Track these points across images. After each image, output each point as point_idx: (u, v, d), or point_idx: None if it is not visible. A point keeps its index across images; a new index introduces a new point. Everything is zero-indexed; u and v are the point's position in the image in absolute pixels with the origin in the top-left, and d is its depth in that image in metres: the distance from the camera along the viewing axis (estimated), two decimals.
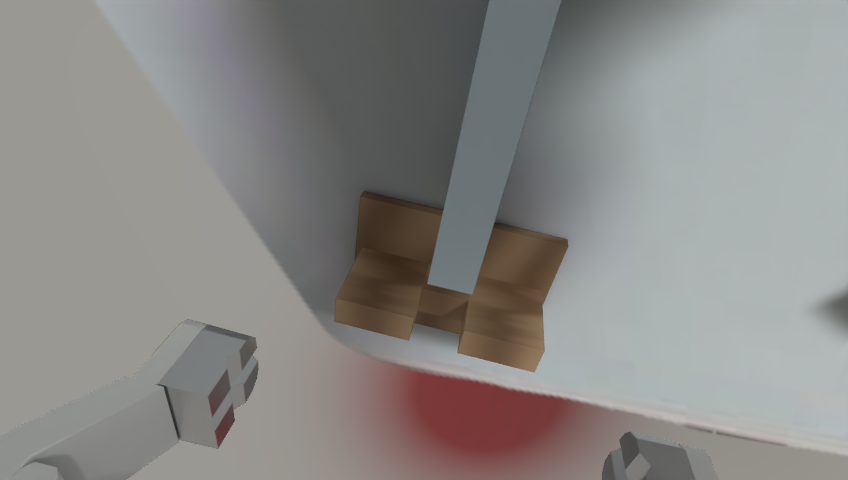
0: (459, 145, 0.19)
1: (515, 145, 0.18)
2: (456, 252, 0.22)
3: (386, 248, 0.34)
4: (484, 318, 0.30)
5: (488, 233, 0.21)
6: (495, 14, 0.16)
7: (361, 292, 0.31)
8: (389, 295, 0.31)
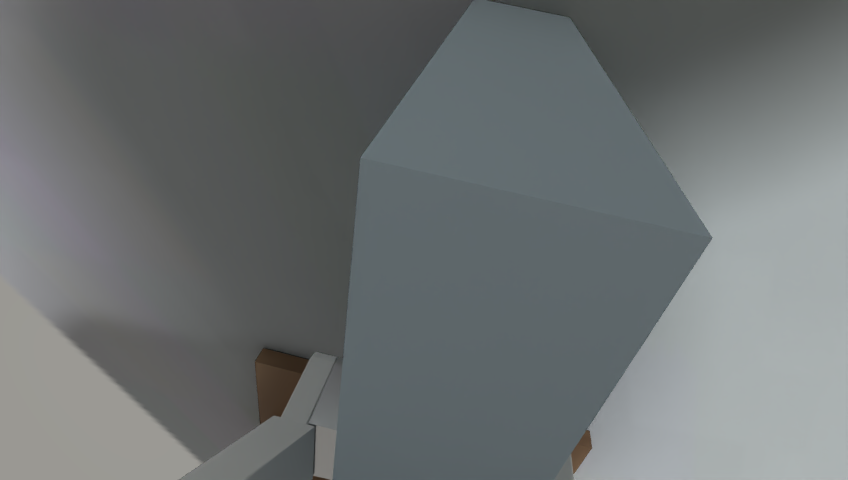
0: None
1: None
2: None
3: None
4: None
5: None
6: (386, 287, 0.04)
7: None
8: None
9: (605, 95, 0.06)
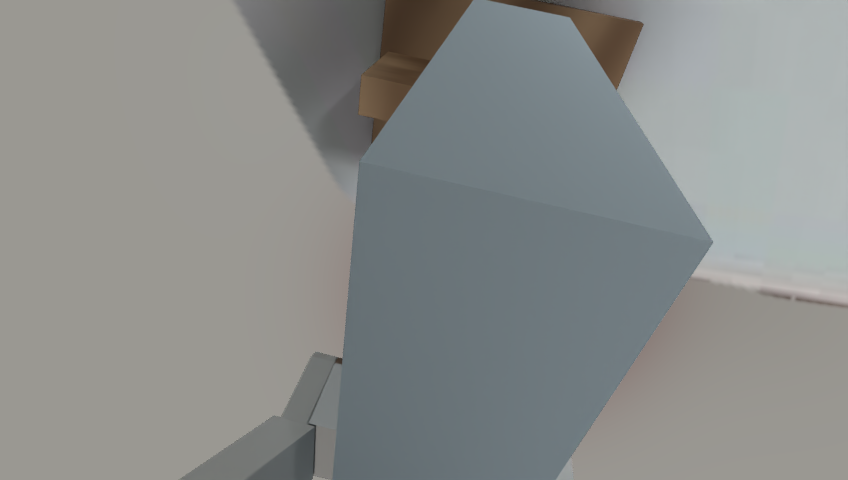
0: None
1: None
2: None
3: (417, 50, 0.29)
4: None
5: None
6: (386, 291, 0.04)
7: (392, 75, 0.25)
8: None
9: (605, 97, 0.05)
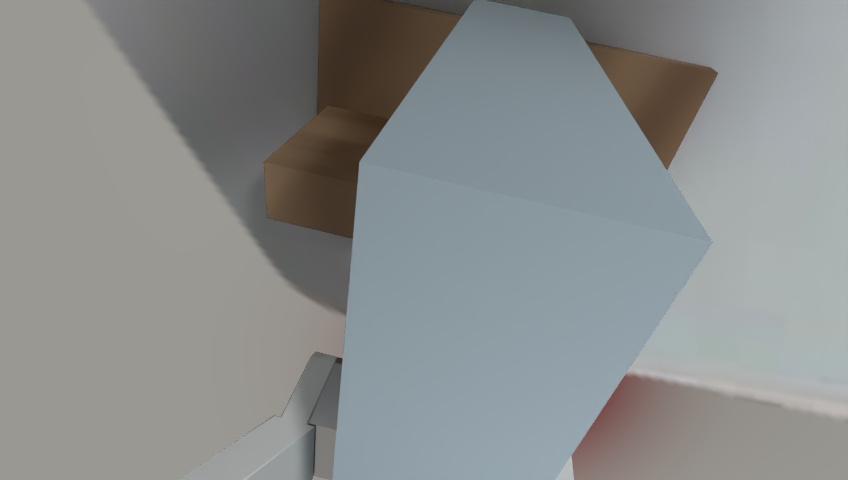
0: None
1: None
2: None
3: (370, 105, 0.19)
4: None
5: None
6: (386, 291, 0.04)
7: (318, 158, 0.15)
8: None
9: (605, 97, 0.06)
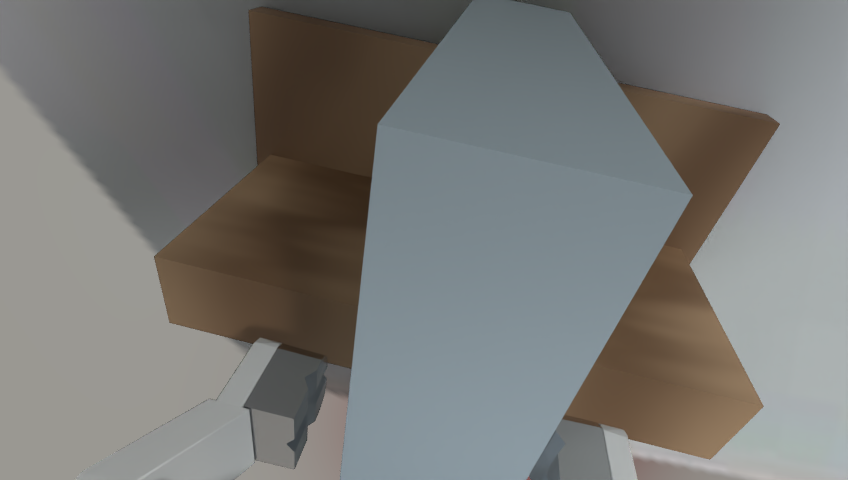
0: None
1: None
2: None
3: (324, 155, 0.15)
4: None
5: None
6: (398, 247, 0.04)
7: (237, 244, 0.11)
8: (314, 252, 0.11)
9: (601, 80, 0.06)
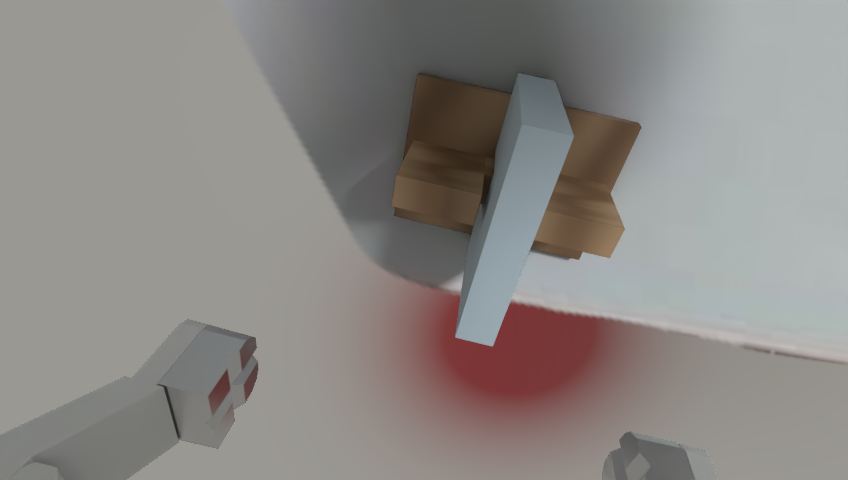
0: (488, 236, 0.24)
1: (533, 237, 0.23)
2: (481, 313, 0.27)
3: (440, 140, 0.32)
4: (555, 201, 0.28)
5: (508, 300, 0.26)
6: (521, 148, 0.21)
7: (422, 173, 0.28)
8: (452, 177, 0.28)
9: (562, 113, 0.23)
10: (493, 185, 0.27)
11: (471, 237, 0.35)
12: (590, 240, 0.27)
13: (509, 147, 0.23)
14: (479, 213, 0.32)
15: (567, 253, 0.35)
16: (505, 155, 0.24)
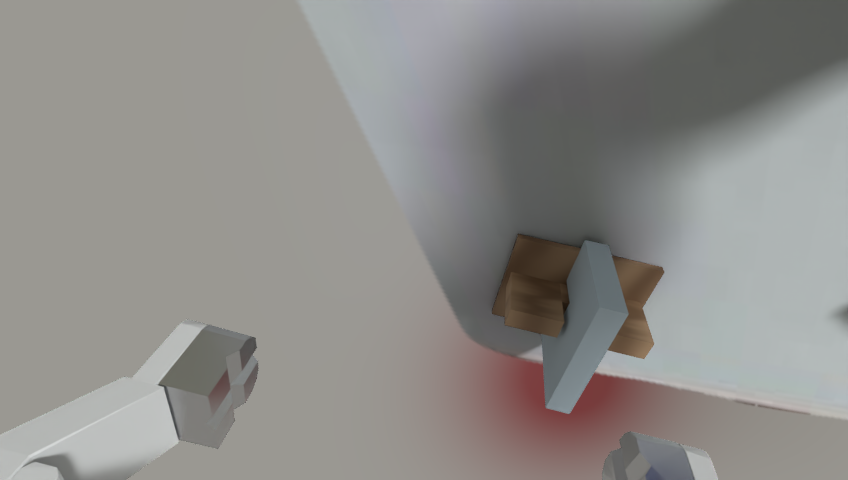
0: (574, 356, 0.40)
1: (601, 358, 0.40)
2: (564, 395, 0.43)
3: (529, 272, 0.48)
4: None
5: (582, 389, 0.42)
6: (598, 317, 0.37)
7: (524, 305, 0.45)
8: (543, 307, 0.45)
9: (619, 289, 0.39)
10: (571, 316, 0.43)
11: None
12: (632, 349, 0.44)
13: (587, 307, 0.40)
14: None
15: None
16: (583, 308, 0.41)
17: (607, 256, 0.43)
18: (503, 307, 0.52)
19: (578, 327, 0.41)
